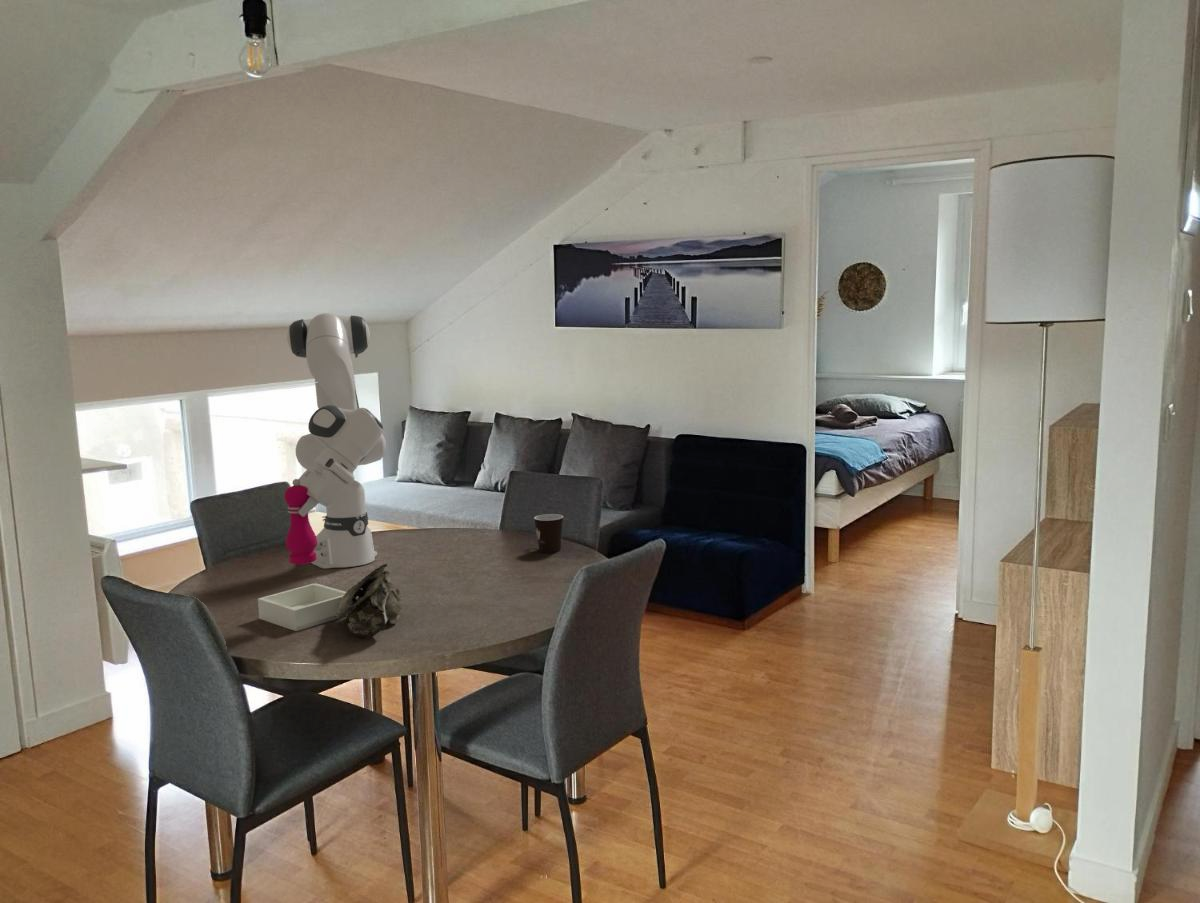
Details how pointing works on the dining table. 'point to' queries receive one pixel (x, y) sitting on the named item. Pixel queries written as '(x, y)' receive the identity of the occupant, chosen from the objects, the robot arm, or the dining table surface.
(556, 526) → the dark brown cup
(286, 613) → the tray
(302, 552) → the pepper mill
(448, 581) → the dining table surface
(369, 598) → the hollow geode rock
